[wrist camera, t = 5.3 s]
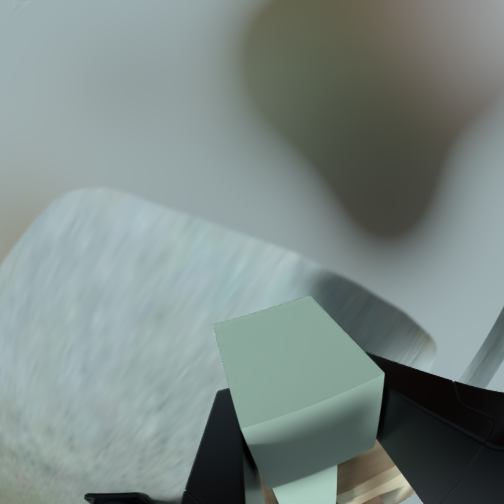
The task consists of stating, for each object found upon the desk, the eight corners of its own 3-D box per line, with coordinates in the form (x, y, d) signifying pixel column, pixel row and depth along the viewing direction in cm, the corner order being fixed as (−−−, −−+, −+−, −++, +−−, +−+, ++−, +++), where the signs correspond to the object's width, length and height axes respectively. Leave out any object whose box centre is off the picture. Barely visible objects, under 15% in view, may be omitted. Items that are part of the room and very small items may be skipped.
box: (273, 514, 25) (293, 564, 18) (249, 468, 20) (274, 543, 13) (392, 465, 28) (422, 505, 20) (410, 401, 23) (458, 452, 16)
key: (291, 528, 15) (307, 565, 12) (213, 324, 9) (240, 428, 5) (327, 516, 16) (346, 551, 12) (309, 295, 9) (384, 373, 5)
